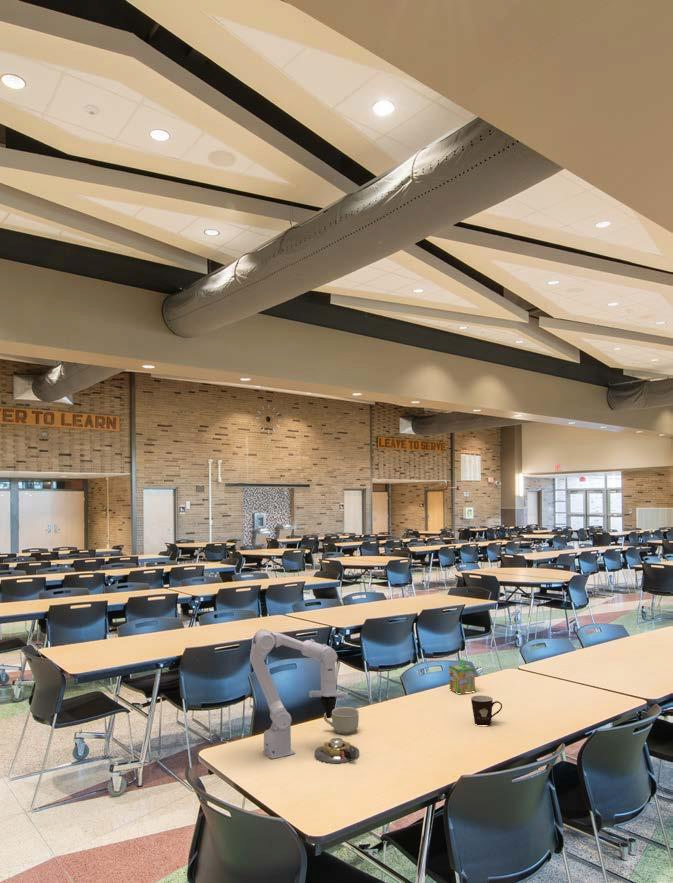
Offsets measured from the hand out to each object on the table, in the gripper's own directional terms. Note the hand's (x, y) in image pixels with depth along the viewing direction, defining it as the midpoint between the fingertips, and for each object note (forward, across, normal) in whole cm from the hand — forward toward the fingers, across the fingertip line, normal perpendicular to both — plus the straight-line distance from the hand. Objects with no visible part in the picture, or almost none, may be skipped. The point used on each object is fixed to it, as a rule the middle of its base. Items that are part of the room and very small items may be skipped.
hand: (329, 717), depth 242 cm
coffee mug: (+11, +57, +34) cm, 67 cm away
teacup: (+11, +1, +17) cm, 20 cm away
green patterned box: (+11, +45, +81) cm, 93 cm away
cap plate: (+10, +5, -8) cm, 14 cm away
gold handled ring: (+9, +7, -10) cm, 15 cm away
